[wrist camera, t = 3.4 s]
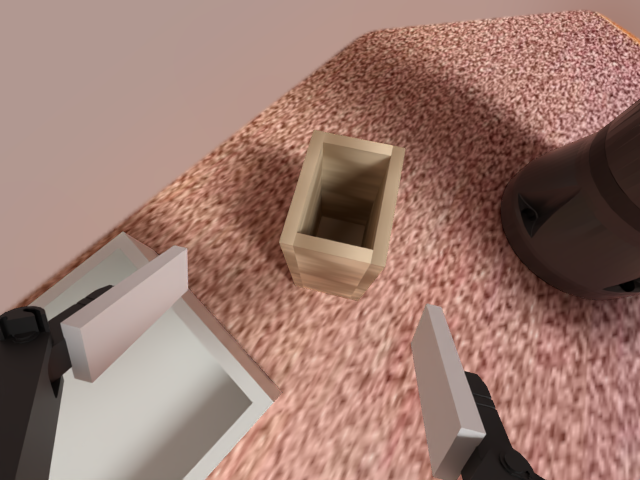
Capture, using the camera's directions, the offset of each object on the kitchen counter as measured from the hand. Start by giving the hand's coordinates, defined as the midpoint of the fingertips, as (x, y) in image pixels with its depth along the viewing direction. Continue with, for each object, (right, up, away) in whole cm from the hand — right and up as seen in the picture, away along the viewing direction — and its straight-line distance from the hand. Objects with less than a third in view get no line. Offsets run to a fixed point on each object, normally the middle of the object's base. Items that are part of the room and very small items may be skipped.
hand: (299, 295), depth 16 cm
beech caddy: (+3, +2, +13) cm, 13 cm away
